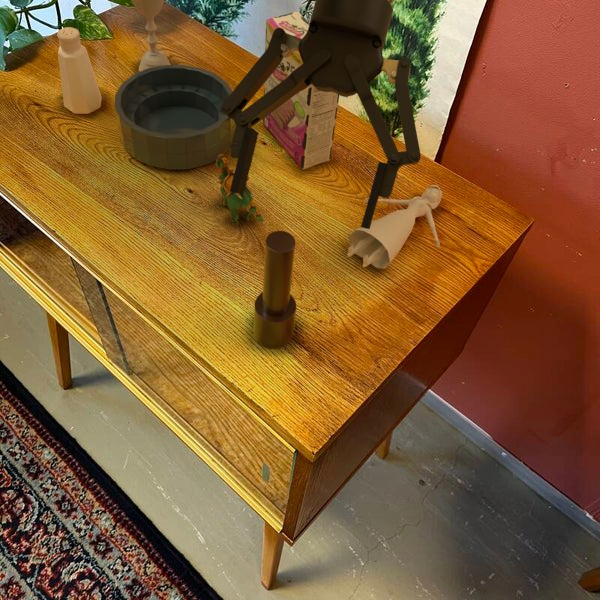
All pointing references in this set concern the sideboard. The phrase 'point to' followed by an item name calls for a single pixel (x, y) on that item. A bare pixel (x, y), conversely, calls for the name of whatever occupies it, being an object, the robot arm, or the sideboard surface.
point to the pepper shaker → (77, 74)
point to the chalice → (151, 33)
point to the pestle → (276, 293)
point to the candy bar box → (300, 105)
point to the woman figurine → (393, 229)
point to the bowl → (174, 116)
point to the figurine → (234, 198)
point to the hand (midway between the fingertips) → (300, 210)
